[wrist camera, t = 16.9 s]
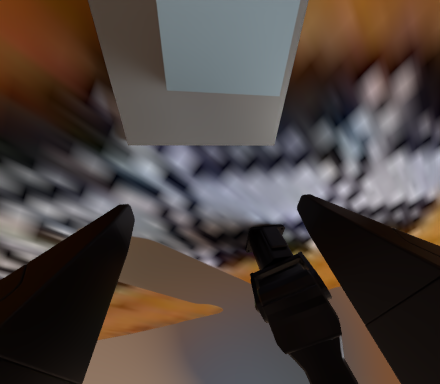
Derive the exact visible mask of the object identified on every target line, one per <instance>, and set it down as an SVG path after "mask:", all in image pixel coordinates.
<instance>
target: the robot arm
mask: <svg viewBox="0 0 440 384" xmlns="http://www.w3.org/2000/svg"><path fill="white" fill-rule="evenodd" d="M297 210H298V212H299V214H300V216H301V219H302V221H303V223H304V225H305V227H306V229H307V231H308V233H309V234H310V236H311V238H312V240H313V241H314V243H315V244H316V246H317V248H318V249H319V251H320V253H321V254H322V256H323V257H324V259H325V261H326V262H327V264H328V265H329V267H330V269H331V270H332V272H333V274H334V275H335V277H336V278H337V280H338V282H339V283H340V285H341V287H342V288H343V290H344V291H345V293H346V295H347V296H348V298H349V300H350V301H351V303H352V304H353V306H354V308H355V309H356V311H357V313H358V314H359V316H360V317H361V319H362V321H363V322H364V324H365V326H366V327H367V329H368V331H369V332H370V334H371V336H372V337H373V339H374V340H375V342H376V344H377V345H378V347H379V349H380V350H381V352H382V353H383V355H384V357H385V358H386V360H387V362H388V363H389V365H390V366H391V368H392V370H393V371H394V373H395V375H396V376H397V378H398V379H399V381H400V383H401V384H440V246H438V245H435V244H433V243H430V242H427V241H425V240H422V239H420V238H417V237H415V236H412V235H409V234H407V233H404V232H402V231H399V230H397V229H395V228H391V227H389V226H387V225H385V224H382V223H380V222H377V221H375V220H372V219H370V218H367V217H365V216H362V215H360V214H357V213H355V212H352V211H350V210H347V209H345V208H343V207H340V206H338V205H335V204H333V203H330V202H328V201H325V200H323V199H320V198H318V197H315V196H313V195H310V194H308V195H302V196H301V198H300V201H299V203H298V206H297ZM134 222H135V218H134V215H133V212H132V209H131V206H130V205H129V204H123V205H118V206H117V207H115V208H113V209H112V210H110V211H109V212H107V213H106V214H104V215H102V216H101V217H99V218H98V219H96V220H95V221H93V222H91V223H90V224H88V225H87V226H85V227H84V228H82V229H80V230H79V231H77V232H76V233H74V234H73V235H71V236H69V237H68V238H66V239H65V240H63V241H62V242H60V243H58V244H57V245H55V246H54V247H52V248H51V249H49V250H47V251H46V252H44V253H43V254H41V255H40V256H38V257H36V258H35V259H33V260H32V261H30V262H29V263H28V264H27V265H24V266H22V267H21V268H19V269H17V270H16V271H14V272H13V273H11V274H10V275H8V276H6V277H5V278H3V279H2V280H0V384H82V383H83V380H84V377H85V374H86V371H87V368H88V366H89V363H90V360H91V357H92V354H93V351H94V348H95V345H96V343H97V340H98V337H99V334H100V331H101V328H102V325H103V322H104V320H105V317H106V314H107V311H108V308H109V305H110V302H111V299H112V296H113V294H114V291H115V288H116V285H117V282H118V279H119V276H120V273H121V270H122V267H123V265H124V262H125V259H126V256H127V252H128V249H129V245H130V240H131V236H132V231H133V227H134ZM284 229H285V227H284V226H283V225H279V226H267V227H255V228H251V229H250V231H249V236H248V240H247V245H246V252H247V253H249V252H253V253H254V256H255V259H256V261H257V264H258V267H259V269H260V270H259V271H257V272H255V273H251V274H250V276H251V284H252V288H253V294H254V298H255V308H256V310H257V311H258V312H259V313H260V314H261V315H262V317H263V319H264V321H265V322H266V323H269V325H270V327H271V330H272V332H273V334H274V338H275V340H276V343H277V345H278V346H279V347H280V348H281V350H282V351H283V352H284V353H285V354H289V355H290V356H291V357H292V358H293V359H294V360H295V361H296V362H297V363H298V365H299V366H300V367H301V368H302V369H303V370H304V371H305V373H306V375H307V378H308V379H309V382H310V384H358V382H357V380H356V378H355V377H354V375H353V373H352V371H351V370H350V368H349V366H348V364H347V362H346V361H345V359H344V353H343V346H342V338H341V335H342V332H341V327H340V323H339V318H338V316H337V315H336V312H335V311H334V309H333V308H332V306H331V305H330V303H329V301H328V300H329V299H332V296H331V294H330V292H329V291H328V289H327V287H326V286H325V284H324V282H323V281H322V279H321V278H320V276H319V275H318V273H317V272H316V271H315V269H314V268H313V267H312V265H311V264H310V263H309V261H308V260H307V259H306V257H305V256H304V255H303V254H302V252H299V253H298V254H296V255H293V254H292V252H291V251H290V249H289V247H288V244H287V243H286V241H285V240H284V238H283V236H282V234H283V232H284Z"/></svg>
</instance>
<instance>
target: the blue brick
mask: <svg viewBox="0 0 440 384" xmlns="http://www.w3.org/2000/svg"><path fill="white" fill-rule="evenodd" d="M156 3H157V12H158V20H159V28H160V37H161V45H162V54H163V62H164V71H165V79H166V87H167V90H168V91H187V92H206V93H225V94H244V95H263V96H280V92H281V87H282V82H283V78H284V73H285V69H286V64H287V60H288V55H289V50H290V46H291V41H292V37H293V32H294V27H295V23H296V18H297V14H298V9H299V4H300V0H156Z"/></svg>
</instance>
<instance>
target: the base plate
mask: <svg viewBox="0 0 440 384" xmlns="http://www.w3.org/2000/svg"><path fill="white" fill-rule="evenodd" d="M88 2H89V6H90V10H91V13H92V17H93V20H94V24H95V28H96V31H97V35H98V38H99V42H100V46H101V49H102V53H103V56H104V60H105V64H106V67H107V71H108V75H109V78H110V82H111V85H112V89H113V93H114V96H115V100H116V103H117V107H118V111H119V114H120V118H121V121H122V125H123V129H124V132H125V136H126V139H127V143H128V145H274V143H275V139H276V135H277V131H278V127H279V122H280V118H281V114H282V110H283V105H284V101H285V97H286V93H287V89H288V84H289V80H290V76H291V72H292V68H293V63H294V59H295V55H296V51H297V47H298V42H299V38H300V34H301V30H302V25H303V21H304V17H305V13H306V9H307V4H308V0H300V4H299V9H298V14H297V18H296V23H295V27H294V32H293V37H292V41H291V46H290V50H289V55H288V60H287V64H286V69H285V73H284V78H283V82H282V87H281V92H280V96H263V95H244V94H225V93H206V92H187V91H168V90H167V87H166V79H165V71H164V62H163V54H162V45H161V37H160V28H159V20H158V12H157V3H156V0H88Z"/></svg>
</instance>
